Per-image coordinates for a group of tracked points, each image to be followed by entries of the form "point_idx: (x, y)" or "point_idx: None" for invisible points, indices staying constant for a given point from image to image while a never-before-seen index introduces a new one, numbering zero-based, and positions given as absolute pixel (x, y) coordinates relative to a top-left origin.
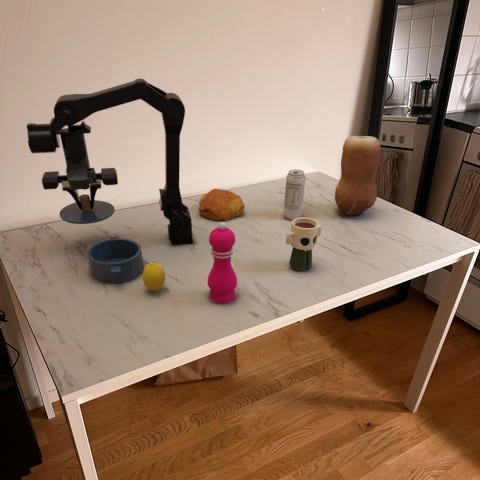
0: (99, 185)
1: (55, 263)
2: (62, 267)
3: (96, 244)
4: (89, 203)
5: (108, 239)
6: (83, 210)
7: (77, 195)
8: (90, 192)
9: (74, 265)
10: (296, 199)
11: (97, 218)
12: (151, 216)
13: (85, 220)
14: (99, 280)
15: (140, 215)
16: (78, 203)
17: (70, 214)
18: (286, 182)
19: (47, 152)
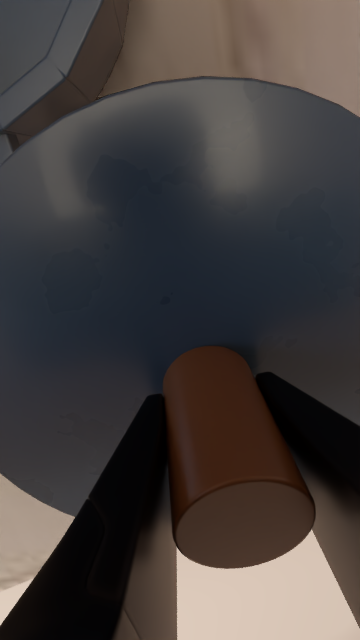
0: None
1: (351, 84)
2: (312, 26)
3: (76, 14)
4: (173, 430)
5: (5, 124)
6: (237, 361)
7: (357, 522)
8: (112, 614)
9: (247, 51)
10: None
11: (44, 202)
12: (6, 506)
13: (180, 140)
14: None
15: (52, 509)
16: (306, 409)
17: (356, 305)
18: None
19: None
